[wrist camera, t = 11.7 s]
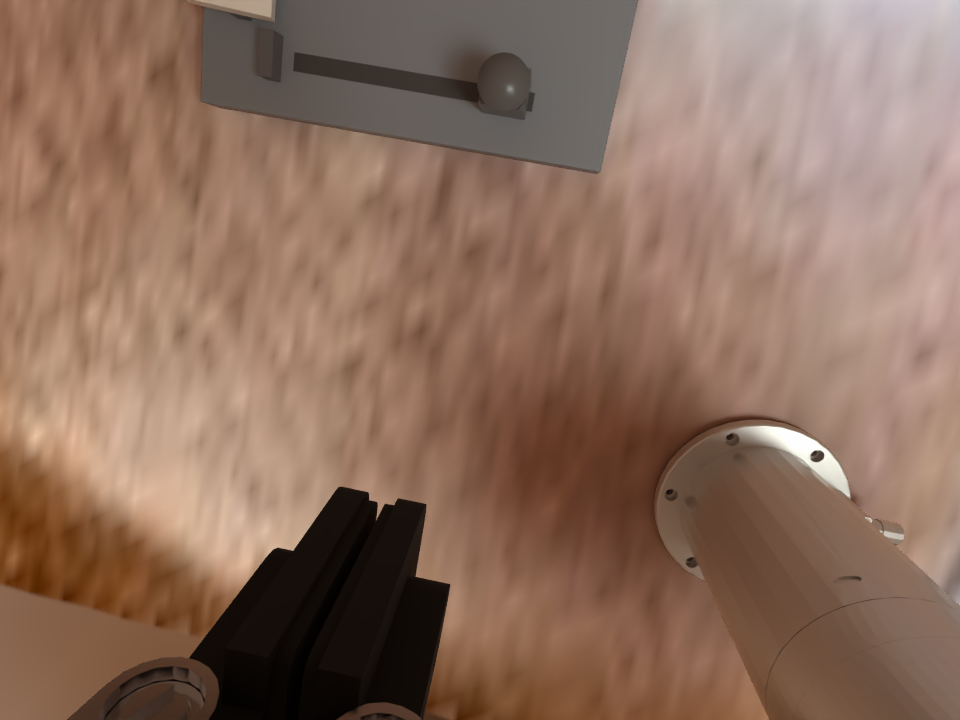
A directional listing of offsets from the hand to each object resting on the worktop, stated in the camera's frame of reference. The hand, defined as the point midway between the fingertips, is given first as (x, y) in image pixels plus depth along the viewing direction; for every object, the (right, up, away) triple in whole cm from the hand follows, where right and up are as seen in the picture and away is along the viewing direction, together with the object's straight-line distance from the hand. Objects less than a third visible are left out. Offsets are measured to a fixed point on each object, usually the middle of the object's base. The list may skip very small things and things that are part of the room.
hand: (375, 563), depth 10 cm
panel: (-2, +24, +22) cm, 32 cm away
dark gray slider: (+4, +19, +21) cm, 28 cm away
